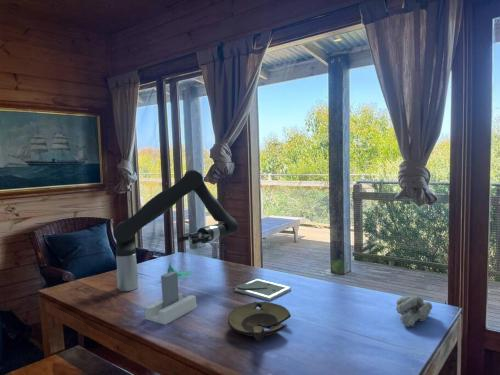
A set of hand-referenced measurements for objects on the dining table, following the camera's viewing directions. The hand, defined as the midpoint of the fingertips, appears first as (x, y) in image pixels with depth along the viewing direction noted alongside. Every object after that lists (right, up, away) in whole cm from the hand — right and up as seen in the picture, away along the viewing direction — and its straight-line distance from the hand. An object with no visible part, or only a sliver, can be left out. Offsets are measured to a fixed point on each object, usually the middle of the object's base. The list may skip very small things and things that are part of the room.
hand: (185, 241), depth 162 cm
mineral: (+88, -25, -29) cm, 96 cm away
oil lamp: (+31, -28, -33) cm, 53 cm away
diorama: (-10, -24, +35) cm, 44 cm away
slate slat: (-3, -26, -14) cm, 30 cm away
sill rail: (-3, -27, -14) cm, 31 cm away
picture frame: (+35, -25, +7) cm, 43 cm away
